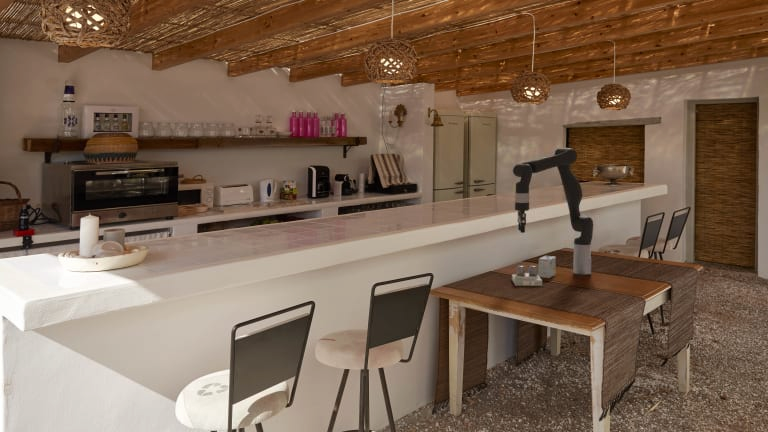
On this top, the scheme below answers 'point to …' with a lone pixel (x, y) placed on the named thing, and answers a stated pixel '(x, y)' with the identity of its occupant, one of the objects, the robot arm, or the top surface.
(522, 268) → the spacer
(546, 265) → the light bulb box
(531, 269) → the spacer
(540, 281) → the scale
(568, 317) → the top surface
